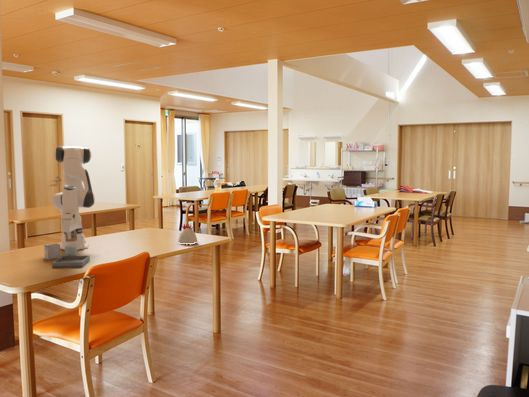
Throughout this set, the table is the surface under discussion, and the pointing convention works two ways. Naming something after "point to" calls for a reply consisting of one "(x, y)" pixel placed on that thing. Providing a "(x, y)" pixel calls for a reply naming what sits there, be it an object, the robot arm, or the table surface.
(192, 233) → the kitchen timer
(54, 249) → the medicine box
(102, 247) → the table surface
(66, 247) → the grey block
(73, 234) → the walnut block
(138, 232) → the table surface
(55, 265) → the tray
